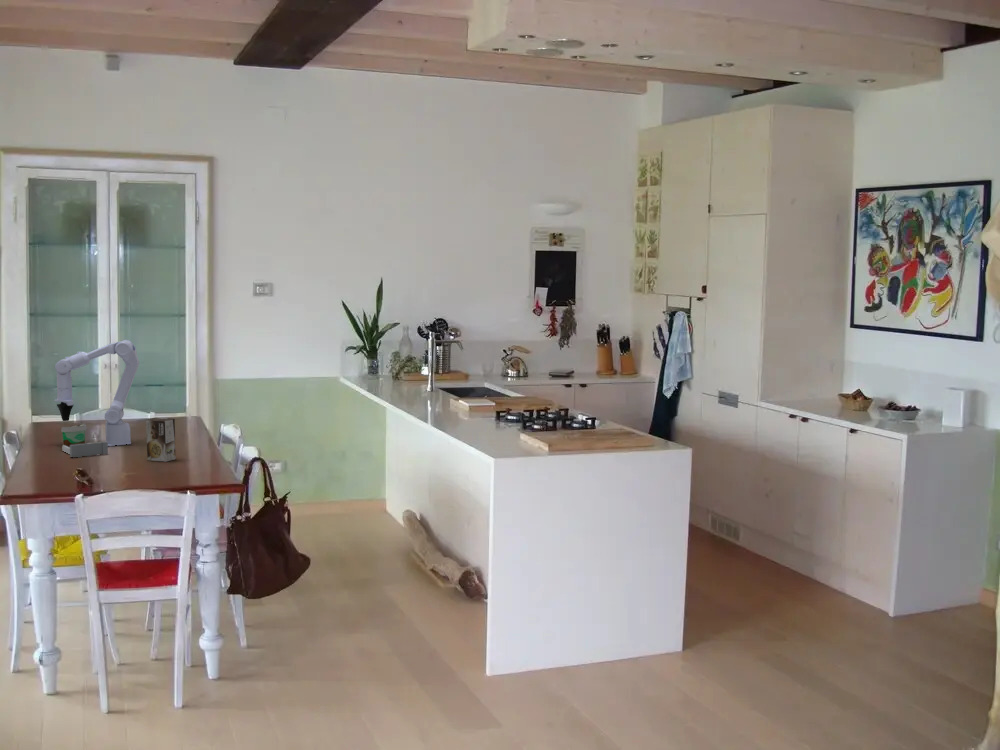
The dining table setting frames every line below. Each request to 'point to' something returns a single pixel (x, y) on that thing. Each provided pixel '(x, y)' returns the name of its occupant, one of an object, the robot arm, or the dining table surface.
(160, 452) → the coffee box
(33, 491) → the dining table surface
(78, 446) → the grey flat tray
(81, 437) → the food container
